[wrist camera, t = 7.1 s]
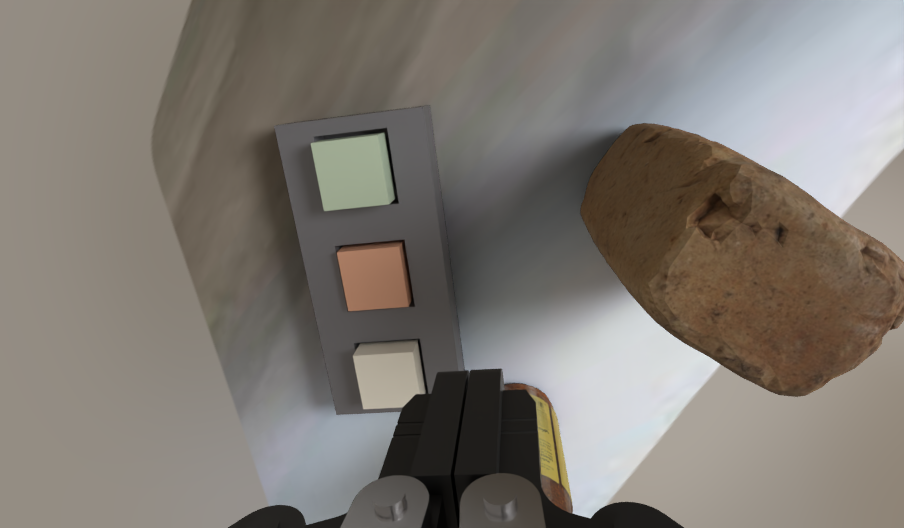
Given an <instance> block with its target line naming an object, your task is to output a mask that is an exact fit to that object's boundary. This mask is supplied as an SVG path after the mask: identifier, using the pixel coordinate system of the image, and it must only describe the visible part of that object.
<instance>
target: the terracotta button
mask: <svg viewBox="0 0 904 528" xmlns="http://www.w3.org/2000/svg"><path fill="white" fill-rule="evenodd" d="M337 256H338V262H339V267H340V272H341V277H342V282H343V287H344V292H345V297H346V302H347V307H348V311H360V310H373V309H386V308H399V307H409V305H410V303H411V301H412V298H413V291H412V284H411V278H410V272H409V265H408V259H407V252H406V246H405V239H404V240H393V241H383V242H372V243H361V244H351V245H344V246H343V247H342V248H341V249H340V250H339V251H338V252H337Z"/></svg>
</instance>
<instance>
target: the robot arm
mask: <svg viewBox="0 0 904 528" xmlns="http://www.w3.org/2000/svg"><path fill="white" fill-rule="evenodd" d="M397 423H398V425H396V428H395V431H394V434H393V438H392V440H391V443H390V446H389V449H388V452H387V455H386V458H385V461H384V464H383V467H382V470H381V473H380V476H379V478H378V480H376V481H374V482H372V483H370V484H368V485H367V486H366V487H364V488H363V489H362V490H361V491H360V492H359V493H358V494H357V495H356V497H355V499H354V500H353V502H352V504H351V506H350V509H349V511H348V513H346V514H344V515H341V516H338V517H335V518H332V519H328V520H324V521H320V522H317V523H313V524H309V525H306V523H305V519H304V517H303V515H302V513H301V512H300V511H299V510H297V509H296V508H294V507H291V506H286V505H275V506H269V507H265V508H262V509H259V510H257V511H255V512H253V513H251V514H249V515H247V516H245V517H244V518H242V519H241V520H239V521H238V522H236V523H235V524H233V525H231V526H230V527H228V528H684V527H682V526H681V525H679V524H678V523H676V522H675V521H673V520H672V519H671V518H669V517H668V516H667V515H665V514H663V513H662V512H660V511H659V510H657V509H655V508H652V507H650V506H647V505H644V504H640V503H634V502H619V503H613V504H610V505H607V506H605V507H603V508H601V509H600V510H598V511H597V512H596V513H595V514H594V515H593V516H592V518H591V519H590V518H586V517H582V516H578V515H575V514H572V513H569V512H567V511H565V510H562V509H561V508H559V507H558V506H556V505H555V504H554V503H552V502H551V501H550V500H549V499H548V498H547V496H546V495H545V493H544V492H543V489H542V477H541V461H540V448H539V436H538V423H537V411H536V402H535V401H534V399H533V398H532V397H531V396H530V394H529V393H528V392H527V390H526V389H524V390H504V380H503V372H502V369H484V370H471V371H470V373H469V371H468V370H466V371H445V372H437V374H436V378H435V382H434V385H433V389H432V393H431V394H415V395H414V396H413V398H412V399H411V400H410V401H409V402H408V403H407V404H406V405H405V406H404V407H403V408H402V411H401V414H400V417H399V420H398V422H397Z"/></svg>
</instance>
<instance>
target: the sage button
mask: <svg viewBox="0 0 904 528" xmlns="http://www.w3.org/2000/svg"><path fill="white" fill-rule="evenodd" d="M311 148H312V153H313V158H314V163H315V168H316V174H317V179H318V184H319V189H320V194H321V199H322V204H323V209H324V211H330V210H340V209H350V208H359V207H369V206H379V205H389V204H390V203H391V202H392V201H393V200H394V199H395V193H394V186H393V180H392V173H391V167H390V161H389V154H388V148H387V142H386V135H385V132H384V133H376V134H368V135H359V136H351V137H343V138H335V139H327V140H320V141H317V142H313V143H311Z"/></svg>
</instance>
